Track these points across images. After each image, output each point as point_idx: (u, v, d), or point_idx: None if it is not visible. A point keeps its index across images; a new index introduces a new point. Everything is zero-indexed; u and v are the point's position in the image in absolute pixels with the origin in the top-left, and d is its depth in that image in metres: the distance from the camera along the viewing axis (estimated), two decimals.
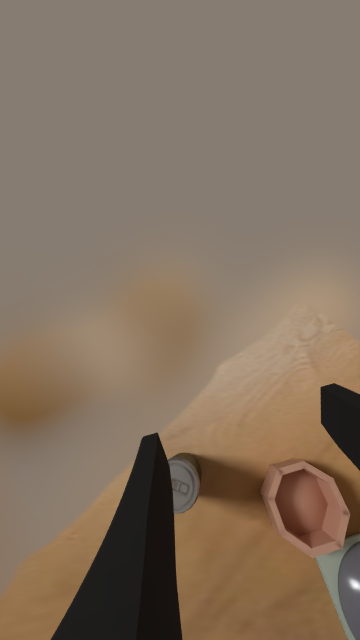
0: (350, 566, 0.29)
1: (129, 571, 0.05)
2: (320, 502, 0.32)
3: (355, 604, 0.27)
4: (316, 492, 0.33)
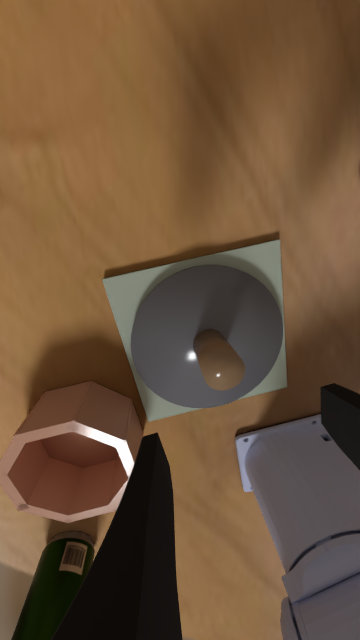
0: (163, 390, 0.19)
1: (129, 571, 0.05)
2: None
3: (202, 394, 0.19)
4: None
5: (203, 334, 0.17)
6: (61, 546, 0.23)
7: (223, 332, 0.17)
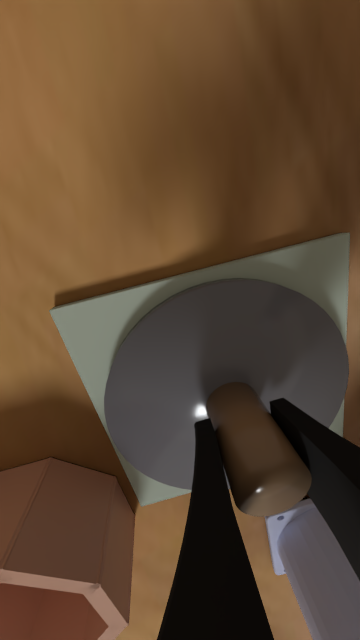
0: (161, 472, 0.12)
1: (228, 541, 0.05)
2: None
3: None
4: None
5: (223, 394, 0.10)
6: None
7: (254, 385, 0.11)
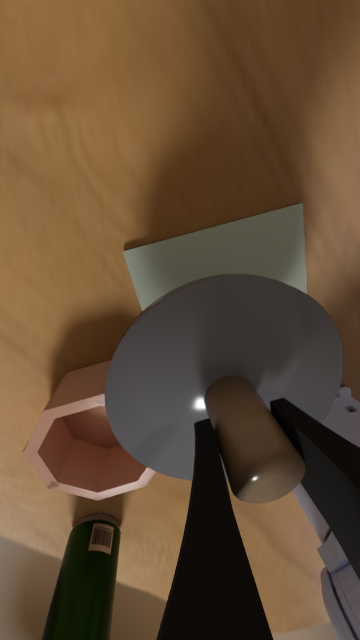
0: (159, 462, 0.12)
1: (227, 542, 0.05)
2: None
3: None
4: None
5: (222, 387, 0.10)
6: (88, 528, 0.23)
7: (252, 379, 0.11)
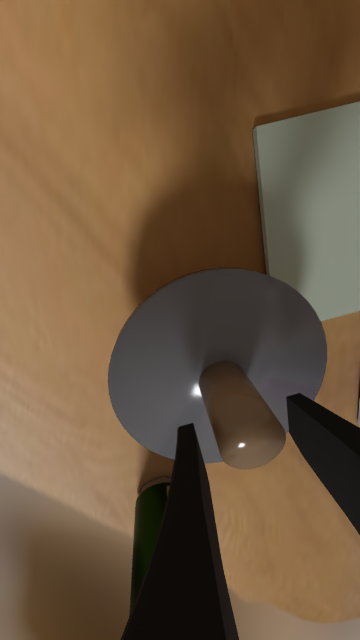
0: (154, 441, 0.13)
1: (196, 551, 0.05)
2: None
3: (208, 446, 0.14)
4: None
5: (215, 370, 0.11)
6: (161, 490, 0.20)
7: (243, 365, 0.12)
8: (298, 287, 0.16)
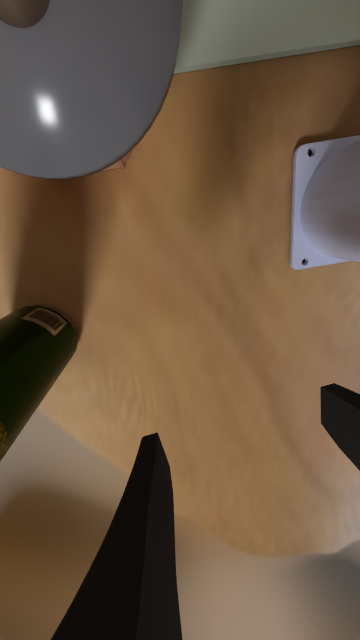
0: None
1: (129, 571, 0.05)
2: None
3: (17, 134, 0.10)
4: None
5: None
6: (29, 308, 0.16)
7: None
8: None
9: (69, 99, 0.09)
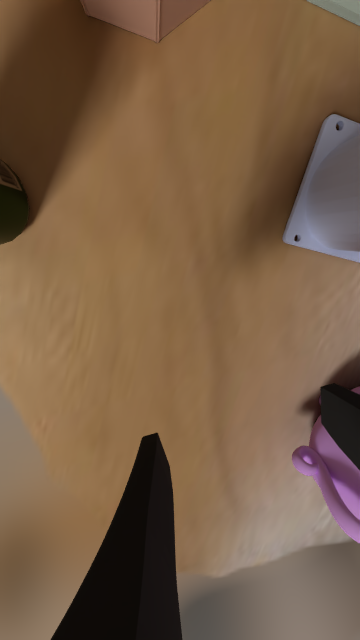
0: None
1: (129, 571, 0.05)
2: None
3: None
4: None
5: None
6: None
7: None
8: None
9: None
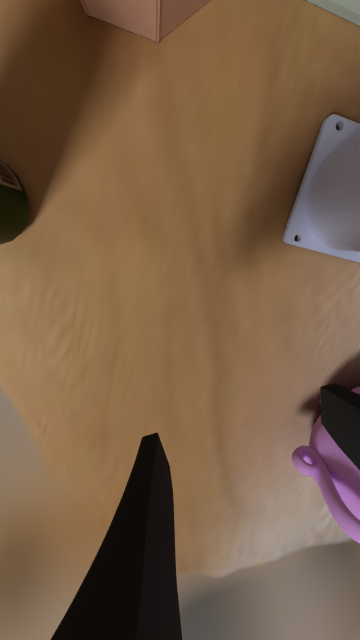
0: None
1: (129, 571, 0.05)
2: None
3: None
4: None
5: None
6: None
7: None
8: None
9: None
